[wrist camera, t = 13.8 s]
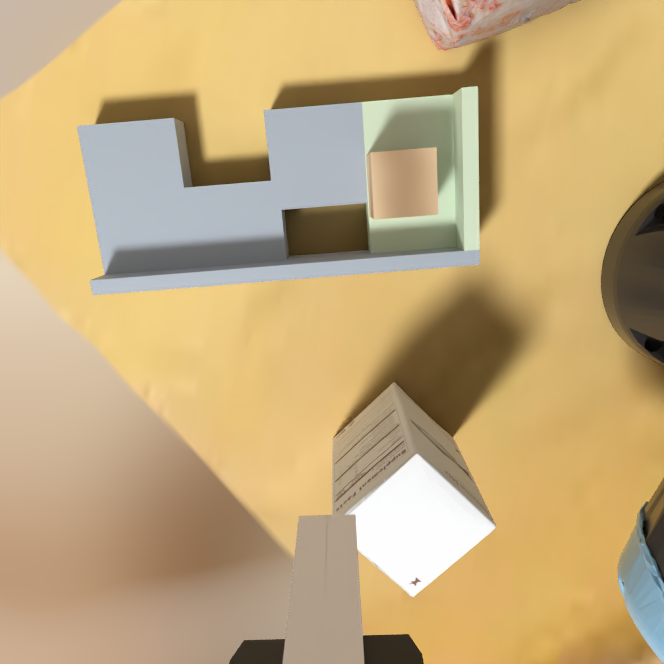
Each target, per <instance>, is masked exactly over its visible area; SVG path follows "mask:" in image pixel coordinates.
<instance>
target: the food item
mask: <svg viewBox="0 0 664 664" xmlns="http://www.w3.org/2000/svg"><path fill="white" fill-rule="evenodd" d="M577 1H580V0H414V3H415V5H416V8H417V10H418V12H419V14H420V16H421V18H422V21H423V23H424V25H425V28H426V30H427V33H428V35H429V37H430V38H431V40H432V41H433V43H434V44H435V46H436V47H437V49H443V50H448V49H452V48H457V47H461V46H465V45H468V44H472V43H475V42H478V41H480V40H483V39H486V38H489V37H492V36H495V35H498V34H500V33H503V32H506V31H508V30H511V29H513V28H516V27H518V26H521V25H523V24H526V23H528V22H531V21H533V20H534V19H536V18H538V17H540V16H542V15H545V14H549V13H551V12H554V11H556V10H558V9H561V8H563V7H564V6H566V5H567V4H571V3H575V2H577Z"/></svg>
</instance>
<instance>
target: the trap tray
mask: <svg viewBox="0 0 664 664" xmlns="http://www.w3.org/2000/svg"><path fill="white" fill-rule="evenodd" d="M264 117H265V126H266V136H267V146H268V155H269V165H270V175H271V181H260V182H247V183H235V184H223V185H211V186H199V187H193V186H192V179H191V171H190V164H189V157H188V150H187V143H186V136H185V128H184V122H182V121H180V120H178V119H175V118H165V119H153V120H141V121H130V122H118V123H106V124H94V125H82V126H77V129H78V134H79V139H80V145H81V150H82V155H83V161H84V166H85V172H86V177H87V182H88V188H89V193H90V198H91V204H92V209H93V214H94V220H95V225H96V230H97V236H98V241H99V247H100V252H101V257H102V263H103V268H104V273H105V275H103V276H100V277H98V278H95V279H92V280H90V284H91V289H92V294H93V295H102V294H114V293H127V292H140V291H152V290H165V289H178V288H190V287H203V286H216V285H228V284H241V283H254V282H266V281H279V280H292V279H305V278H317V277H330V276H343V275H355V274H368V273H381V272H393V271H406V270H419V269H431V268H444V267H457V266H469V265H480V243H479V138H478V86H475V87H463V88H461V89H459V90H458V91H457V92H455V93H454V94H451V95H439V96H427V97H415V98H403V99H391V100H379V101H367V102H356V103H344V104H332V105H320V106H308V107H296V108H284V109H272V110H264ZM432 147H437V184H438V215H427V216H415V217H402V218H389V219H377V220H374V219H373V218H371V217H370V214H369V197H368V180H367V162H366V156H367V155H368V154H369V153H371V152H383V151H395V150H408V149H420V148H432ZM360 203H366V216H367V232H368V249H369V250H358V251H346V252H333V253H321V254H308V255H295V256H289V251H288V241H287V231H286V221H285V210H286V209H298V208H311V207H323V206H335V205H348V204H360Z"/></svg>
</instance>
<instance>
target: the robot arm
mask: <svg viewBox="0 0 664 664" xmlns="http://www.w3.org/2000/svg"><path fill="white" fill-rule="evenodd" d="M601 290H602V298H603V303H604V307H605V310H606V313H607V316H608V318H609V320H610V322H611V324H612V326H613V327H614V329H615V331H616V332H617V333H618V335H619V336H620V337H621V338H622V339H623V340H624V341H625V342H626V343H627V344H628V345H629V346H630V347H632V348H633V349H634V350H636V351H637V352H639V353H640V354H642V355H644V356H646V357H648V358H650V359H652V360H653V361H655V362H657V363H659V364H661V365H664V181H663V182H662V183H660V184H658V185H657V186H655V187H654V188H652V189H651V190H650V191H648V192H647V193H646V194H645V195H644V196H642V197H641V198H640V199H639V200H638V201H637V202H636V203H635V204H634V205H633V206H632V207H631V209H630V210H629V211H628V212H627V213H626V215H625V216H624V217H623V219H622V220H621V222H620V223H619V225H618V226H617V228H616V230H615V232H614V233H613V236H612V238H611V240H610V242H609V245H608V247H607V250H606V253H605V257H604V261H603V267H602V275H601ZM618 582H619V586H620V589H621V592H622V594H623V596H624V602H625V606H626V608H627V610H628V612H629V614H630V616H631V618H632V620H633V622H634V623H635V625H636V627H637V628H638V630H639V631H640V633H641V634H642V636H643V637H644V639H645V640H646V642H647V643H648V645H649V646H650V647H651V649H652V650H653V651H654V653H655V654H656V655H657V656H658V658H659V659H660V660H661V661H662V662H663V663H664V478H663V480H662V481H661V483H660V485H659V486H658V488H657V490H656V491H655V493H654V495H653V496H652V498H651V500H650V501H649V502H646V503H645V504H644V505H643V506H642V507H641V509H640V511H639V513H638V516H637V523H636V526H635V528H634V530H633V532H632V534H631V536H630V538H629V540H628V542H627V544H626V546H625V548H624V550H623V552H622V554H621V556H620V559H619V564H618ZM229 664H424V663H423V657H422V653H421V652H420V651H419V649H418V648H417V646H416V645H415V643H414V642H413V640H412V639H411V637H410V636H409V634H402V635H365V636H363V632H362V616H361V599H360V582H359V566H358V549H357V532H356V516H355V514H351V515H318V516H299V522H298V531H297V539H296V548H295V557H294V566H293V575H292V584H291V593H290V601H289V612H288V620H287V628H286V637H285V639H276V640H244V641H243V643H242V644H241V646H240V647H239V648H238V650H237V651H236V653H235V654H234V656H233V657H232V659H231V660H230V663H229Z"/></svg>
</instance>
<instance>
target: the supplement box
mask: <svg viewBox="0 0 664 664" xmlns="http://www.w3.org/2000/svg"><path fill="white" fill-rule="evenodd" d="M332 456H333V459H332V460H333V462H332V466H333V467H332V515H351V514H355V516H356V532H357V549H358V551H359V552H361V553H362V554H363V555H364V556H365V557H366V558H368V559H369V560H370V561H371V562H372V563H373V564H374V565H375V566H376V567H378V568H379V569H380V570H382V571H383V572H384V573H385V574H386V575H388V576H389V577H390V578H391V579H392V580H393V581H395V582H396V583H397V584H398V585H399V586H400V587H402V588H403V589H404V590H405V591H406V592H407V593H408V594H409V595H410V596H413V597H414V596H415V595H416V594H417V593H418V592H420V591H421V590H422V589H423V588H425V587H426V586H427V585H428V584H429V583H431V582H432V581H433V580H434V579H435V578H437V577H438V576H439V575H440V574H441V573H443V572H444V571H445V570H446V569H447V568H449V567H450V566H451V565H452V564H453V563H455V562H456V561H457V560H458V559H459V558H461V557H462V556H463V555H464V554H465V553H467V552H468V551H469V550H470V549H471V548H473V547H474V546H475V545H476V544H477V543H479V542H480V541H481V540H482V539H483V538H485V537H486V536H487V535H488V534H489V533H490V532H491V531H492V530H493V529H495V527H496V524H495V523H494V521H493V519H492V517H491V515H490V512H489V510H488V508H487V506H486V504H485V502H484V500H483V498H482V496H481V494H480V492H479V490H478V488H477V486H476V484H475V482H474V480H473V477H472V475H471V473H470V471H469V469H468V467H467V465H466V463H465V461H464V459H463V457H462V455H461V453H460V450H459V448H458V446H457V444H456V442H455V440H454V438H453V437H452V436H451V435H450V434H448V433H447V432H446V431H445V430H444V429H443V428H441V427H440V426H439V425H438V424H437V423H436V422H435V421H434V420H432V419H431V418H430V417H429V416H428V415H427V414H426V413H425V412H424V411H423V410H422V409H421V408H420V407H419V406H418V405H417V404H416V403H415V402H414V401H413V400H412V399H411V398H410V397H409V396H408V395H407V394H406V393H405V392H404V391H403V390H402V389H401V388H400V387H399V386H398V385H397V384H396V383H395V382H393V383H392V384H391V385H390V386H389V387H388V388H387V389H385V390H384V391H383V392H382V393H381V394H380V395H379V396H378V397H377V398H376V399H375V400H374V401H373V402H372V403H370V404H369V405H368V406H367V407H366V408H365V409H364V410H363V411H362V412H361V413H360V414H359V415H358V416H357V417H355V418H354V419H353V420H352V421H351V422H350V423H349V424H348V425H347V426H346V427H345V428H344V429H343V430H342V431H341V432H340V433H338V434H337V435H336V436H335V437H334V438H333V455H332Z"/></svg>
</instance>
